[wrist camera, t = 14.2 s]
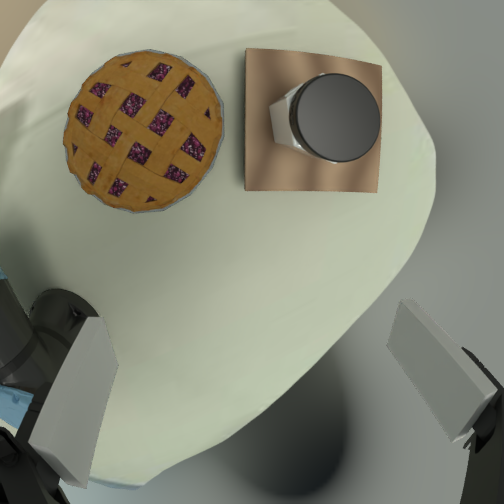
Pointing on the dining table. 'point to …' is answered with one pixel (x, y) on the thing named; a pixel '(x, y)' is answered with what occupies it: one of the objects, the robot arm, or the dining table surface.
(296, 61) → the wooden serving stand
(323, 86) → the jar
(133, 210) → the pie
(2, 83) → the dining table surface
